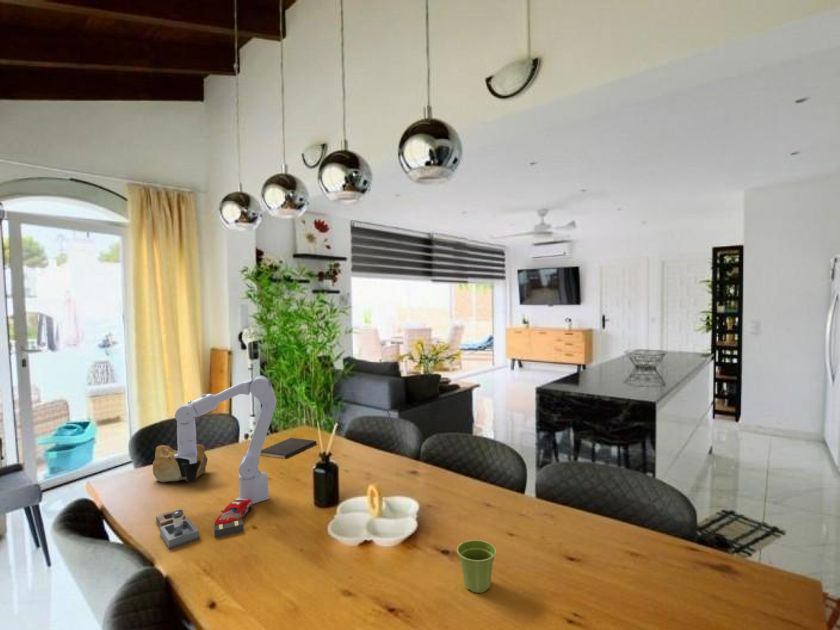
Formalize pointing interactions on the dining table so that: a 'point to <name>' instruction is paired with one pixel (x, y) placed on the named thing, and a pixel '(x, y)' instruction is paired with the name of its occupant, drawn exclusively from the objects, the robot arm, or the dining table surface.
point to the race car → (234, 511)
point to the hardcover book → (287, 448)
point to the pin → (177, 522)
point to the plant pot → (476, 564)
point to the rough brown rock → (174, 464)
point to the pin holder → (166, 518)
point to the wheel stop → (228, 528)
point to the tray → (188, 535)
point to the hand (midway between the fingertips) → (188, 479)
